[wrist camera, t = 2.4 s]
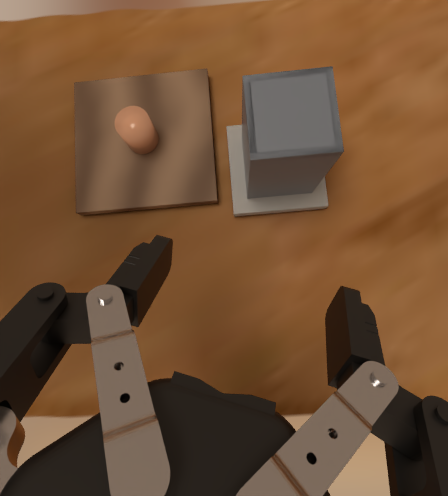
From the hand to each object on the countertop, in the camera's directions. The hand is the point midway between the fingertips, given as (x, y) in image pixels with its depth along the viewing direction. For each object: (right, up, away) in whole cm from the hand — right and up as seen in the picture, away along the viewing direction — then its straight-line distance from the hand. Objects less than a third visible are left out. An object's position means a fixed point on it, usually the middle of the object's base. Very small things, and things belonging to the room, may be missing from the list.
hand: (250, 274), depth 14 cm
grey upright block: (+4, +9, +15) cm, 18 cm away
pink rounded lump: (-9, +12, +16) cm, 23 cm away
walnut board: (-9, +12, +17) cm, 23 cm away
